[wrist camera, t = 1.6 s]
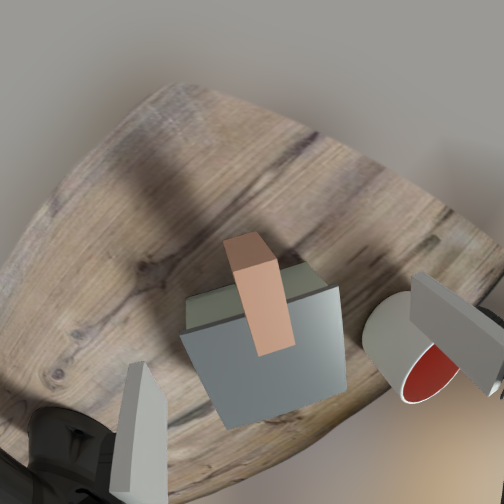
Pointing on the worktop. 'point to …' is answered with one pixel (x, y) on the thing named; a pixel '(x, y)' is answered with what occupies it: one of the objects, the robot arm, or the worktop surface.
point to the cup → (405, 351)
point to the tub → (228, 301)
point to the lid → (268, 342)
